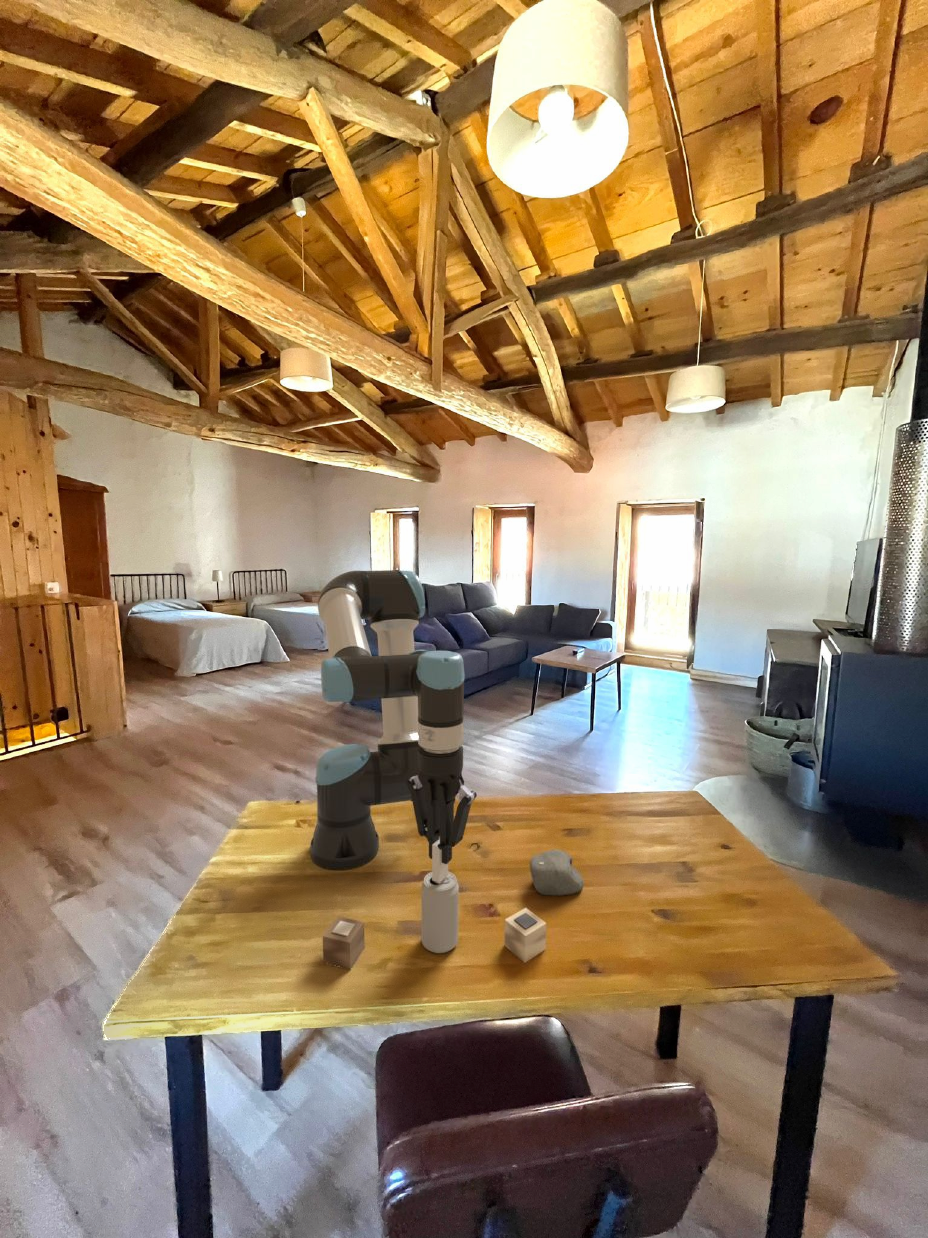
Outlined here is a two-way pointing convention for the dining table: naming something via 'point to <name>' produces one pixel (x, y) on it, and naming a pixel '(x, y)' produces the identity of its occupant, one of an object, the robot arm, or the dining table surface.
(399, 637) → the robot arm
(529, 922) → the beech block
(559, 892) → the stone
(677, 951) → the dining table surface
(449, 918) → the beverage can
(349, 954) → the walnut block
